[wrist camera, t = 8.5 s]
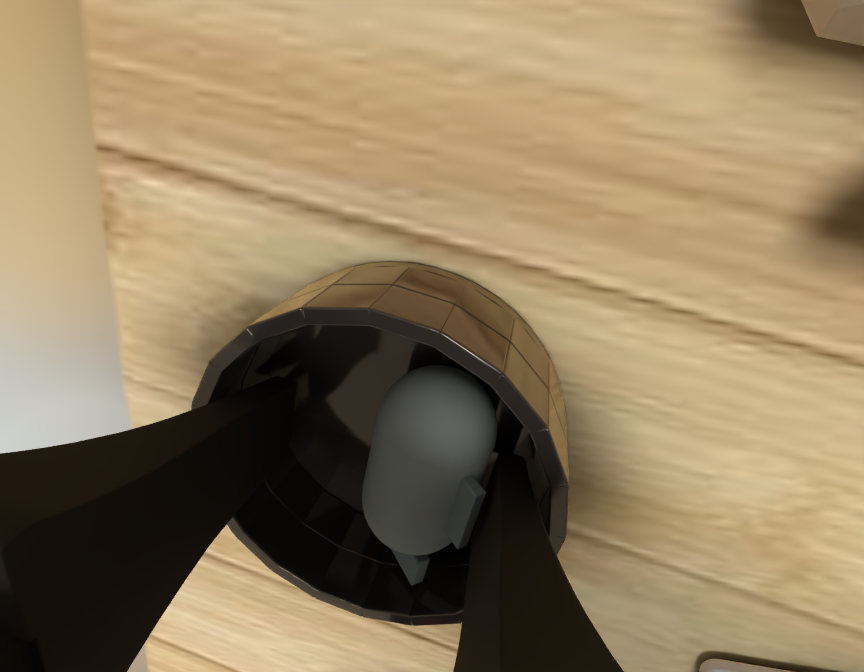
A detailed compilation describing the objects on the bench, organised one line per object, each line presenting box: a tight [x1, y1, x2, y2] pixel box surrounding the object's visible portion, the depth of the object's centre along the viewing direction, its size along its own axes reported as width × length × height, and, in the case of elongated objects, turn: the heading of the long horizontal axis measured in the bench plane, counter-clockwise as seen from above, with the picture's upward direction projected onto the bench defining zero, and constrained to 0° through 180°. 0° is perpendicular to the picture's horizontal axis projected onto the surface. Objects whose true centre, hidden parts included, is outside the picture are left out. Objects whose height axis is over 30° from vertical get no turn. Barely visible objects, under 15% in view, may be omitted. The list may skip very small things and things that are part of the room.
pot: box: [192, 262, 569, 626], centre depth 13 cm, size 9×9×4 cm
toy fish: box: [362, 365, 497, 586], centre depth 12 cm, size 6×3×4 cm
